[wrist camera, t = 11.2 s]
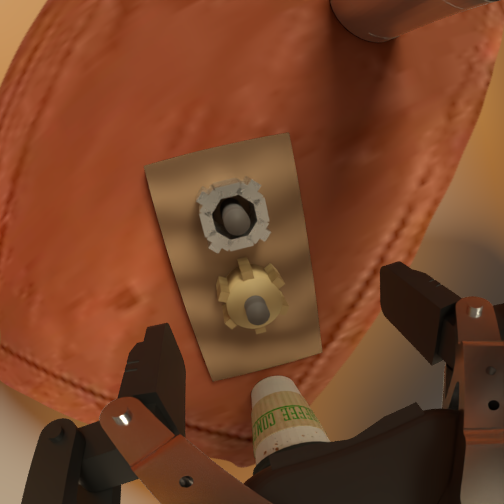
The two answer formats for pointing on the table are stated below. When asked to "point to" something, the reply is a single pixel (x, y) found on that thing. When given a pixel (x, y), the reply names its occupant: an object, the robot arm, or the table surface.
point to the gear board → (240, 257)
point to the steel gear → (257, 215)
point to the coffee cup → (281, 420)
